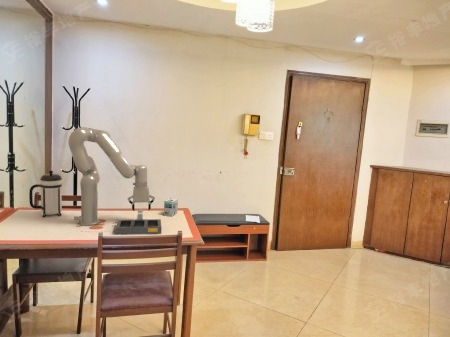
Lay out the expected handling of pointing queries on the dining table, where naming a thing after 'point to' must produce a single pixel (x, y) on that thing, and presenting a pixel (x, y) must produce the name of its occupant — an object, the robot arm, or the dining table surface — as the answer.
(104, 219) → the dining table surface
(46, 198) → the coffee press
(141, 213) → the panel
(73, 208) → the dining table surface
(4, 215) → the dining table surface
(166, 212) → the light bulb box
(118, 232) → the rack
